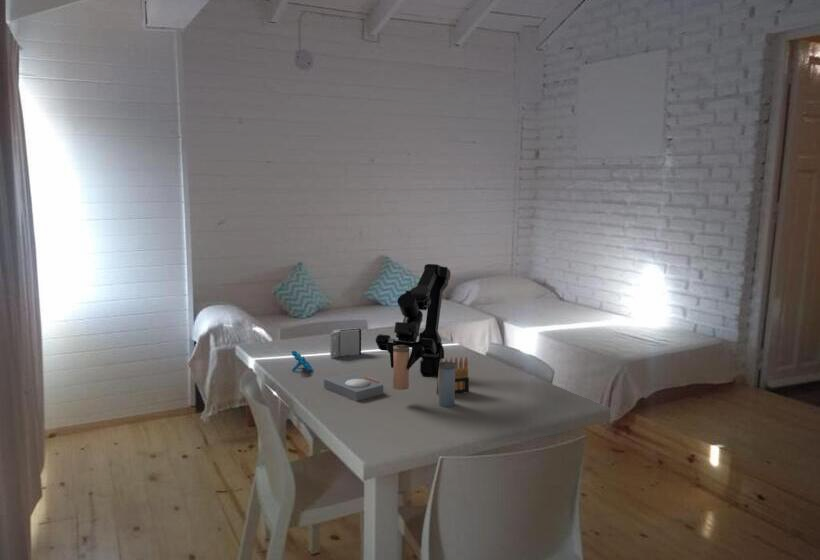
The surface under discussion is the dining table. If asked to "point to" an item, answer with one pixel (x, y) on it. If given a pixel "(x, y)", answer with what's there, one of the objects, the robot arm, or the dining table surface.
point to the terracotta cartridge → (400, 367)
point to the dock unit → (354, 386)
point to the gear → (301, 362)
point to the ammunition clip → (459, 376)
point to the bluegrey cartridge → (447, 384)
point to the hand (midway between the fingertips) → (399, 368)
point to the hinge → (345, 342)
